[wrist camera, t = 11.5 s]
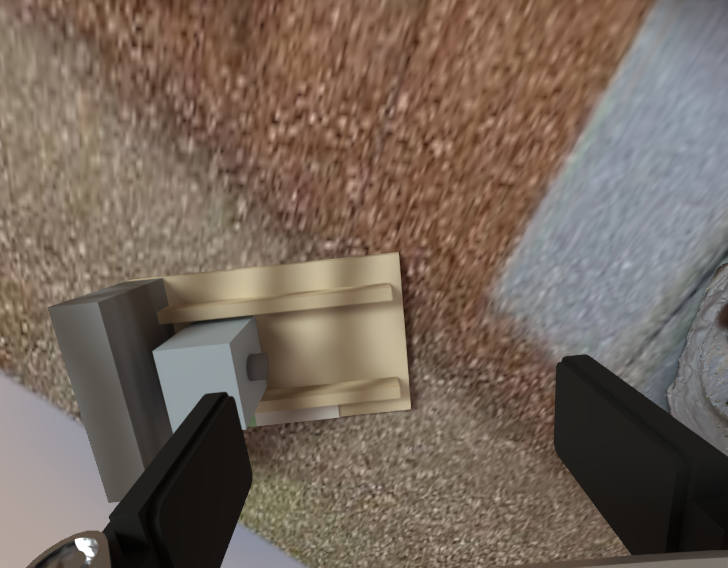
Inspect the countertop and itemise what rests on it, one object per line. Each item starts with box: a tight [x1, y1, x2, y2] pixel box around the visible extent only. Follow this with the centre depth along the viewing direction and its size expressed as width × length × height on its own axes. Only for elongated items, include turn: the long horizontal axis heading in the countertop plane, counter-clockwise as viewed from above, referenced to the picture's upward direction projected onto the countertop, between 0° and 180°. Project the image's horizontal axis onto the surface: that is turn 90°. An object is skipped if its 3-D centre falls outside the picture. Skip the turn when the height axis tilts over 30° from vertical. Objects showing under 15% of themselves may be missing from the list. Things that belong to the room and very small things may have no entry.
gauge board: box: [48, 252, 411, 503], centre depth 26 cm, size 22×14×8 cm, turn 96°
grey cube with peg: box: [152, 315, 269, 434], centre depth 27 cm, size 6×10×6 cm, turn 6°
